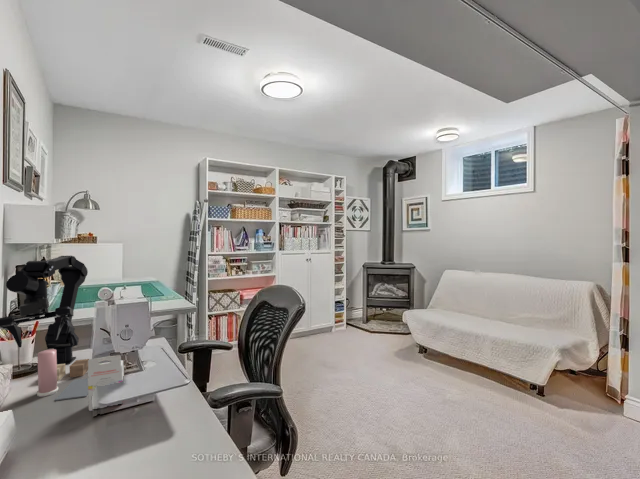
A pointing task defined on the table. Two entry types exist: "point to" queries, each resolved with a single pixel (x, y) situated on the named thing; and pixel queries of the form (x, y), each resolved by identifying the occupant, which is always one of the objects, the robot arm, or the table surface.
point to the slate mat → (75, 390)
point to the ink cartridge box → (103, 373)
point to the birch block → (60, 371)
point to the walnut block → (79, 368)
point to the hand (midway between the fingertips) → (38, 343)
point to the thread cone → (47, 373)
